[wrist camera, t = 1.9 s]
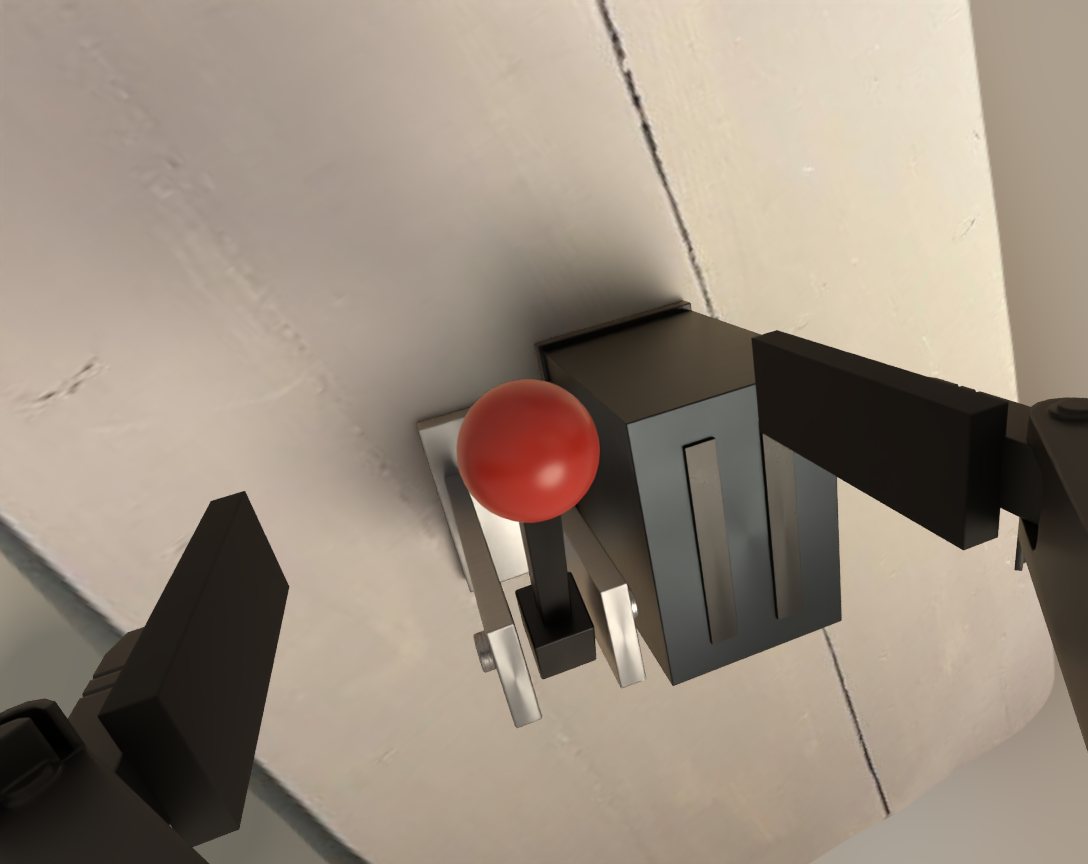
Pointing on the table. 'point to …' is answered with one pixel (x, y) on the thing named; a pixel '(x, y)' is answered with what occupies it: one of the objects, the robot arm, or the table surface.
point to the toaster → (699, 490)
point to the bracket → (500, 556)
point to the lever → (536, 502)
